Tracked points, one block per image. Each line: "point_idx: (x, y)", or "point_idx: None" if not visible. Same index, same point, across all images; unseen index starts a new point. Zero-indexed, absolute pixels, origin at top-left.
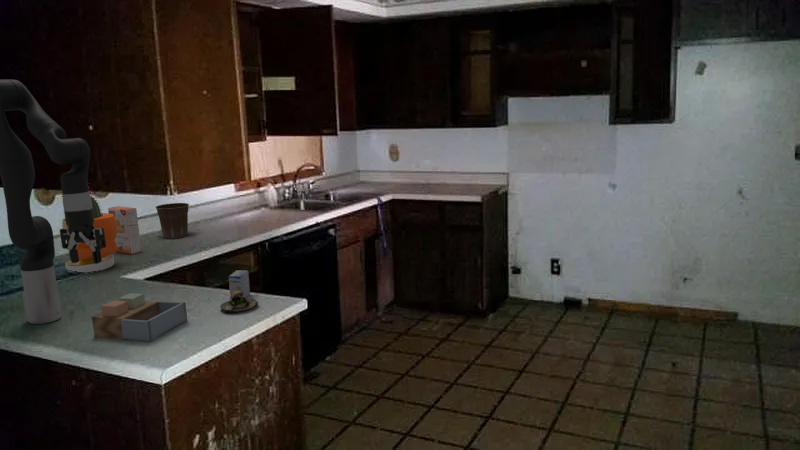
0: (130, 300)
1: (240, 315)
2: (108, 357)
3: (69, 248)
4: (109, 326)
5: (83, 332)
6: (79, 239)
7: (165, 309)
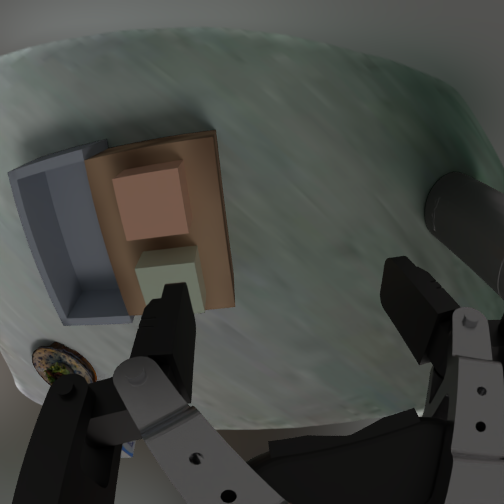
0: (145, 264)
1: (30, 339)
2: (53, 46)
3: (468, 325)
4: (147, 143)
5: (280, 146)
6: (372, 464)
7: (116, 303)
